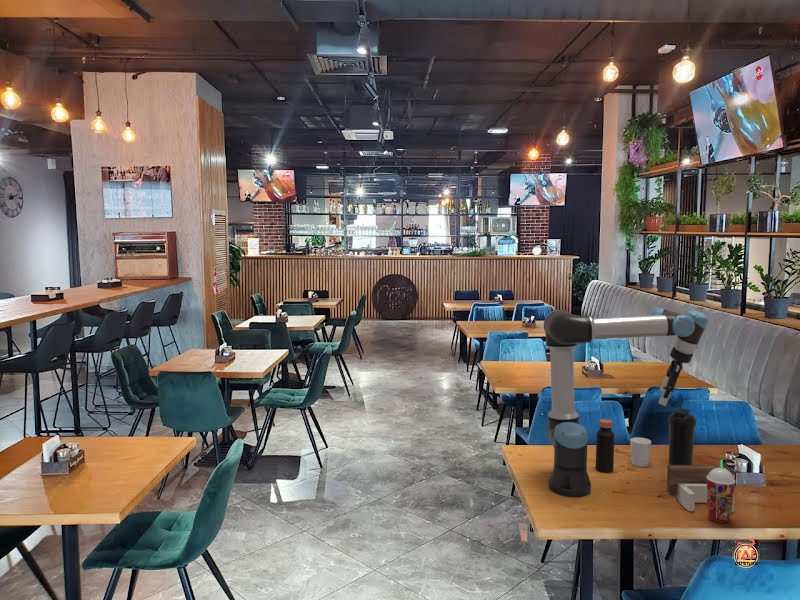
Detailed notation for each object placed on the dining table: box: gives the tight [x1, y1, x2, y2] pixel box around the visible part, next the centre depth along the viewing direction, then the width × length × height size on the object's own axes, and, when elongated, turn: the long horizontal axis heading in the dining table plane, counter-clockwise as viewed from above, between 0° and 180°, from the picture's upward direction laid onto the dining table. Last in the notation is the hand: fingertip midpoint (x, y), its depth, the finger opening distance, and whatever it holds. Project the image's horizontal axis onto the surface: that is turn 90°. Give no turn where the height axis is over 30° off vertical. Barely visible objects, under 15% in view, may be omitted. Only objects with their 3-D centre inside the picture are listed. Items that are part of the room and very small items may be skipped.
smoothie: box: [706, 459, 736, 524], centre depth 198 cm, size 8×8×20 cm
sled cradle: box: [676, 484, 735, 513], centre depth 209 cm, size 9×15×6 cm, turn 88°
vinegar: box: [595, 419, 615, 474], centre depth 242 cm, size 7×7×20 cm
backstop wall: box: [666, 464, 716, 496], centre depth 220 cm, size 3×16×10 cm, turn 88°
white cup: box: [630, 437, 652, 468], centre depth 249 cm, size 8×8×10 cm
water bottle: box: [667, 408, 697, 465], centre depth 246 cm, size 10×10×23 cm
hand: (662, 397), depth 239 cm, fingers open, 13 cm apart
